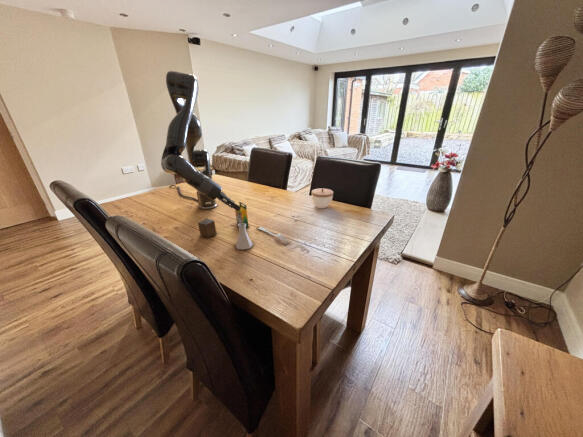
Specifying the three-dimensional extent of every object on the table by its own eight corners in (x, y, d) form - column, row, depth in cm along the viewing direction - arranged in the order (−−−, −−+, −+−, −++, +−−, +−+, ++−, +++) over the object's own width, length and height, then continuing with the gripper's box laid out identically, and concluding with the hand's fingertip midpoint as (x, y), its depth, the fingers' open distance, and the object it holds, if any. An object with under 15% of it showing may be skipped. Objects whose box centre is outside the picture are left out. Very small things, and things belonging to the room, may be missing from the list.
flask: (236, 241, 103) (234, 221, 99) (253, 240, 104) (251, 220, 99) (234, 250, 97) (231, 229, 92) (252, 249, 97) (250, 228, 93)
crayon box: (236, 223, 119) (233, 202, 115) (241, 222, 121) (239, 201, 116) (243, 228, 114) (241, 206, 109) (248, 227, 116) (246, 205, 111)
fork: (262, 231, 117) (261, 226, 116) (290, 242, 102) (289, 237, 101) (257, 233, 115) (256, 228, 114) (285, 245, 100) (284, 239, 99)
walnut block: (200, 236, 108) (197, 222, 105) (208, 231, 112) (206, 218, 109) (208, 238, 106) (205, 224, 103) (216, 233, 110) (214, 220, 107)
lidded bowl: (308, 208, 137) (308, 190, 132) (314, 201, 147) (315, 184, 143) (329, 211, 132) (330, 192, 128) (334, 203, 143) (335, 186, 138)
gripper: (218, 184, 97) (246, 204, 107) (209, 177, 108) (236, 196, 118) (207, 199, 96) (236, 218, 106) (199, 190, 107) (227, 208, 118)
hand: (236, 206), depth 112 cm, fingers open, 8 cm apart
